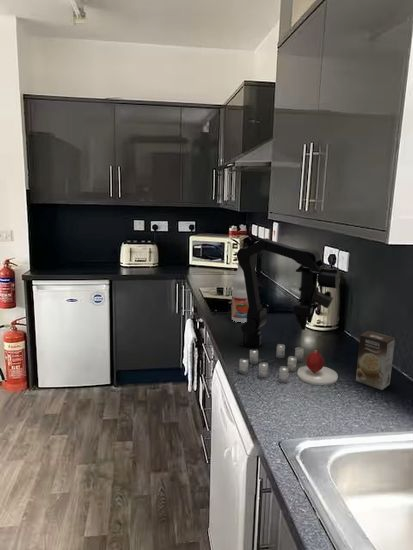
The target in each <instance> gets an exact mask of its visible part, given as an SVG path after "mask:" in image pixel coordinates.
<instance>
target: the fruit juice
mask: <svg viewBox="0 0 413 550" xmlns="http://www.w3.org/2000/svg"><path fill="white" fill-rule="evenodd" d="M232 286H233V288H232V290H231V321H232V320H233V321H232V322H234V321H235V322H234V323H237V322H241V323H240V324H245V322H247V311H248V307H249V306H248V299H247V292H246V286H245V279H244V272H243V270H242V268H241V267H240V265H239V263H238V262H237V269H236V273H235V275H234V276H233V277H232Z"/></svg>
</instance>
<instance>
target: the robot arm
mask: <svg viewBox="0 0 413 550" xmlns="http://www.w3.org/2000/svg"><path fill="white" fill-rule="evenodd" d="M264 251H267V252H268V253H272V254H277V255H279V256H282V257H285V258H288V259H291V260H293V261H294V262H296V263H297V264H299V267H298V268H297V269H295V272H297V273H301V274H300V287H299V288H298V290H299V292H300V294H299V298H298V302H296V303H295V304H294V305H293V306H292V312H293V314H294V315H295V317H296V319H297V321H298V324H299V326H300V328H301V329H300V330H302V331H305V330H306V327H307V323H308V324H311V323H312V320H313V317H314V314H315V312H316V311H315V310H317V308H318V307H320V306H322V307H323V308H325V309H328V308H329V307H330V306H331V304H332V302H333V300H334V298H333V296H332V292H331V291H330V290H329V291H328V290H326V291H325V293H324V292H321V291H320V288H319V287H323V288H330V289H338V288H339V286H340V281H341V277H340V273H339V268H327V266H326V265H325V264H324V262H323V260H322V258H321V254H320V252H319V251H318V250H316V249H314V248H313V249H312V248H299V247H298V248H297V247H294V246H290V245H288V244H286V243H285V244H284V243H281V242H277V241H274V240H272V239H269V238H262V239H259V240H258V241H256V242H255V243H253V244H251V245H248V246H246V247H242V248H240V249H238V251H236V259H237V263H239V265H240V267H241V268H242V270H243V272H244V279H245V286H246V292H247V299H248V306H249V307H248V311H247V322H246V323H243V325H241V326H240V329H241V332H242V343H241V346H242V347H246V348H251V349H257V348H259V346H261V345H262V338H263V337H262V335H263V334H262V333H261V332H262V331H261V329H262V328H263V326H264V325H266V323H267V321H268V318H269V316H268V312H267V311H268V310H267V307H265V308H263V306H262V304H261V300H260V299H261V298H260V292H259V285H258V279H257V277H258V276H257V272H256V267H257V263H258V256H259V255H260V254H261V253H263V252H264ZM318 286H319V287H318Z"/></svg>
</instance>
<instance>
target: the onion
mask: <svg viewBox="0 0 413 550" xmlns="http://www.w3.org/2000/svg"><path fill="white" fill-rule="evenodd" d="M324 363H325V361H324V358H323V356H322V355H321V354H320V353H319V352H318V350H316V349H314V350H313V351H312V352H311V353H309V354H308V355H307V357H306V359H305V366H307V367H308V368H309V369H310V370H311V371H312V372H313V373H316V372H318V371H320V370H321V369H322V368H323V367H324Z"/></svg>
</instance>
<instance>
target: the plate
mask: <svg viewBox="0 0 413 550" xmlns="http://www.w3.org/2000/svg"><path fill="white" fill-rule="evenodd" d="M296 375H297V378H298V379H299V380H301V381H302V382H304V383H306V384H309V385H313V386H314V385H315V386H322V387H323V386H331V385H334V384H336V383H337V381H338V377H339V375H338V373H337V372H336V371H335V370H334V369H332V368H331V367H330V368H329V367H326V366H323V368H322V369H321V370H320V371H318V372H316V373H313V372H312V371H311V370H310V369H309V368H308V367H307V365H304V366H301V367H299V368H298V369H297V374H296Z"/></svg>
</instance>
